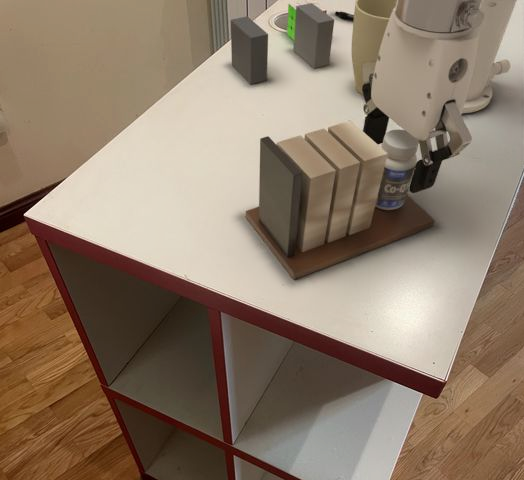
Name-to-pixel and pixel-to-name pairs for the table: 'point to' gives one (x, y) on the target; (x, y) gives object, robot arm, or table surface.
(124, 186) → the table surface
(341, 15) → the pen
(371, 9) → the mug
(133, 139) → the table surface
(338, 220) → the bookend with books
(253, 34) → the grey bookends
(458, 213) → the table surface
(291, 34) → the green boxy piece
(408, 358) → the table surface
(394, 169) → the pill bottle
